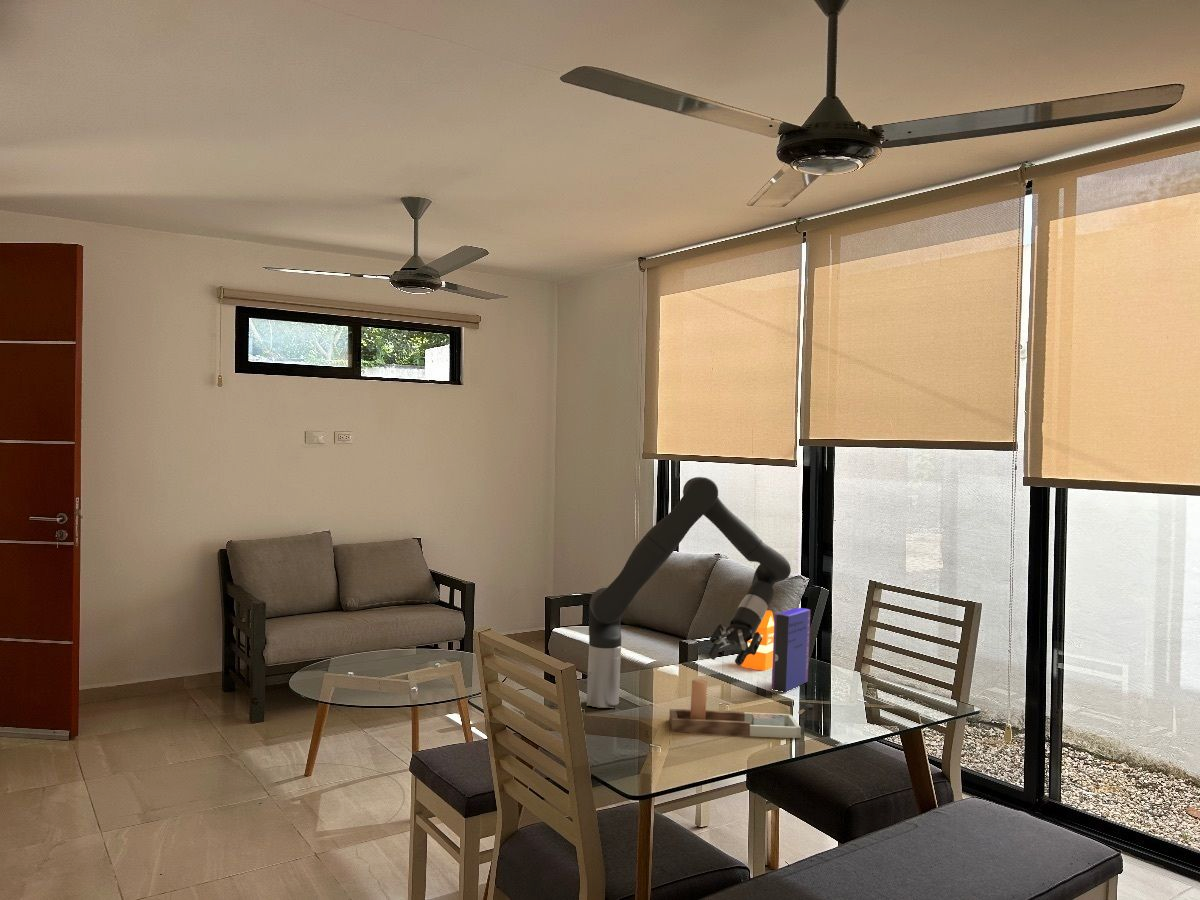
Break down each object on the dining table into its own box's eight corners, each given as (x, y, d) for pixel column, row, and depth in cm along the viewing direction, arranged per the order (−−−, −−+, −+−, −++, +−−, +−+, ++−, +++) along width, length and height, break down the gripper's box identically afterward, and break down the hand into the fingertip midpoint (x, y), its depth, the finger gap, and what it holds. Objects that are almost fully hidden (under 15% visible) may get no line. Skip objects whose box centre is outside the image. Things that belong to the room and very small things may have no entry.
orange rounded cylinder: (690, 728, 236) (692, 682, 236) (689, 723, 240) (691, 679, 240) (705, 729, 236) (708, 683, 236) (704, 724, 240) (706, 679, 240)
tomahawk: (800, 730, 245) (801, 726, 245) (777, 724, 249) (778, 720, 248) (828, 712, 262) (828, 708, 262) (806, 706, 266) (806, 702, 266)
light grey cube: (753, 733, 236) (753, 717, 236) (751, 728, 240) (752, 713, 240) (768, 733, 236) (769, 718, 236) (766, 729, 240) (767, 714, 240)
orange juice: (765, 670, 307) (767, 612, 307) (741, 666, 312) (743, 609, 312) (773, 666, 314) (776, 609, 314) (750, 662, 319) (752, 606, 319)
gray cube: (768, 733, 236) (769, 718, 236) (766, 729, 240) (767, 714, 240) (783, 734, 236) (784, 719, 236) (781, 729, 240) (782, 714, 240)
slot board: (672, 736, 232) (673, 721, 232) (668, 722, 244) (669, 707, 244) (749, 739, 232) (750, 724, 232) (742, 725, 244) (743, 710, 244)
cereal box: (793, 679, 296) (796, 607, 296) (807, 682, 294) (810, 609, 294) (771, 690, 282) (774, 613, 282) (785, 693, 279) (788, 615, 279)
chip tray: (749, 739, 232) (750, 725, 232) (742, 725, 244) (743, 712, 244) (800, 741, 232) (800, 727, 232) (790, 727, 244) (791, 714, 244)
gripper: (723, 602, 257) (697, 647, 249) (766, 609, 247) (740, 657, 239) (733, 618, 261) (708, 664, 253) (776, 626, 251) (751, 674, 243)
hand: (724, 660), depth 246 cm, fingers open, 8 cm apart
